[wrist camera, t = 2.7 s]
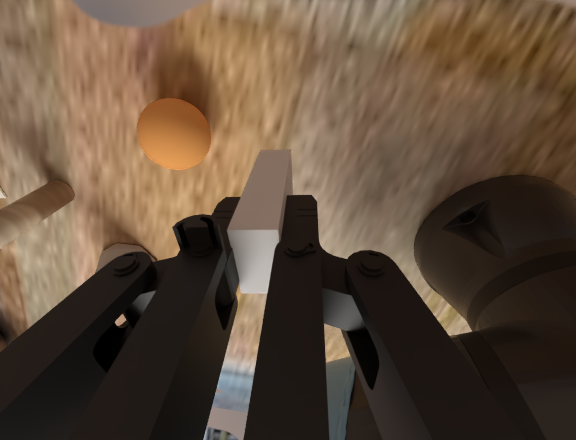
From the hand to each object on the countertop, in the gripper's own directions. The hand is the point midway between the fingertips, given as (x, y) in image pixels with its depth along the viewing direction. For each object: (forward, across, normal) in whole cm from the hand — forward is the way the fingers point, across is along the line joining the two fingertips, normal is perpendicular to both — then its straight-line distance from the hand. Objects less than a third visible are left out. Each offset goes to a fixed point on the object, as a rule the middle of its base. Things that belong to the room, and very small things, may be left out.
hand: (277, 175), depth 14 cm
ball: (+9, +9, 0) cm, 13 cm away
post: (+12, +25, +7) cm, 29 cm away
